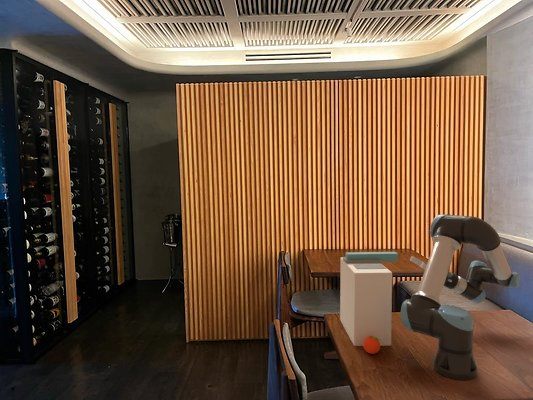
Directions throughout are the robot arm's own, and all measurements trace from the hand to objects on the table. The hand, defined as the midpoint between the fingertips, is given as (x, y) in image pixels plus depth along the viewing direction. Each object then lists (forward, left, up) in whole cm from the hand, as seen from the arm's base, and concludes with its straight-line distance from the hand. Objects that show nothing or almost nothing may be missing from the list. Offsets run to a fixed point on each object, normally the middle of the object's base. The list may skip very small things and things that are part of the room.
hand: (416, 261), depth 193 cm
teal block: (-4, +21, 0) cm, 22 cm away
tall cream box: (-11, +25, -32) cm, 42 cm away
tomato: (-33, +23, -32) cm, 51 cm away
